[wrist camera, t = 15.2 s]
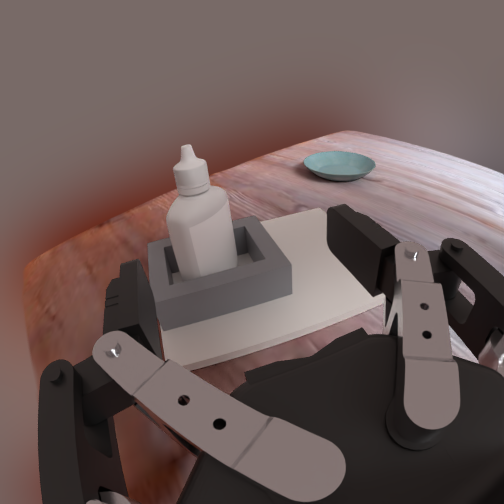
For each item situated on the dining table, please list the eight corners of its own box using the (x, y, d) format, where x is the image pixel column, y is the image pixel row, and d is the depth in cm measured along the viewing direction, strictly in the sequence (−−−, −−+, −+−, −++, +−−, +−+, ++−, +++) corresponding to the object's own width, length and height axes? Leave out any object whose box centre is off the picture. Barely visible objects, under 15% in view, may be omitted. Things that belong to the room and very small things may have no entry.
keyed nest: (319, 213, 36) (319, 184, 34) (405, 293, 24) (414, 257, 21) (154, 256, 32) (145, 226, 30) (170, 375, 20) (152, 343, 17)
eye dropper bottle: (253, 279, 26) (236, 140, 19) (194, 307, 24) (156, 163, 17) (229, 256, 29) (209, 133, 23) (176, 279, 27) (141, 152, 20)
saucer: (347, 195, 41) (347, 180, 39) (289, 174, 49) (288, 161, 47) (387, 175, 46) (388, 162, 45) (333, 158, 54) (333, 147, 53)
